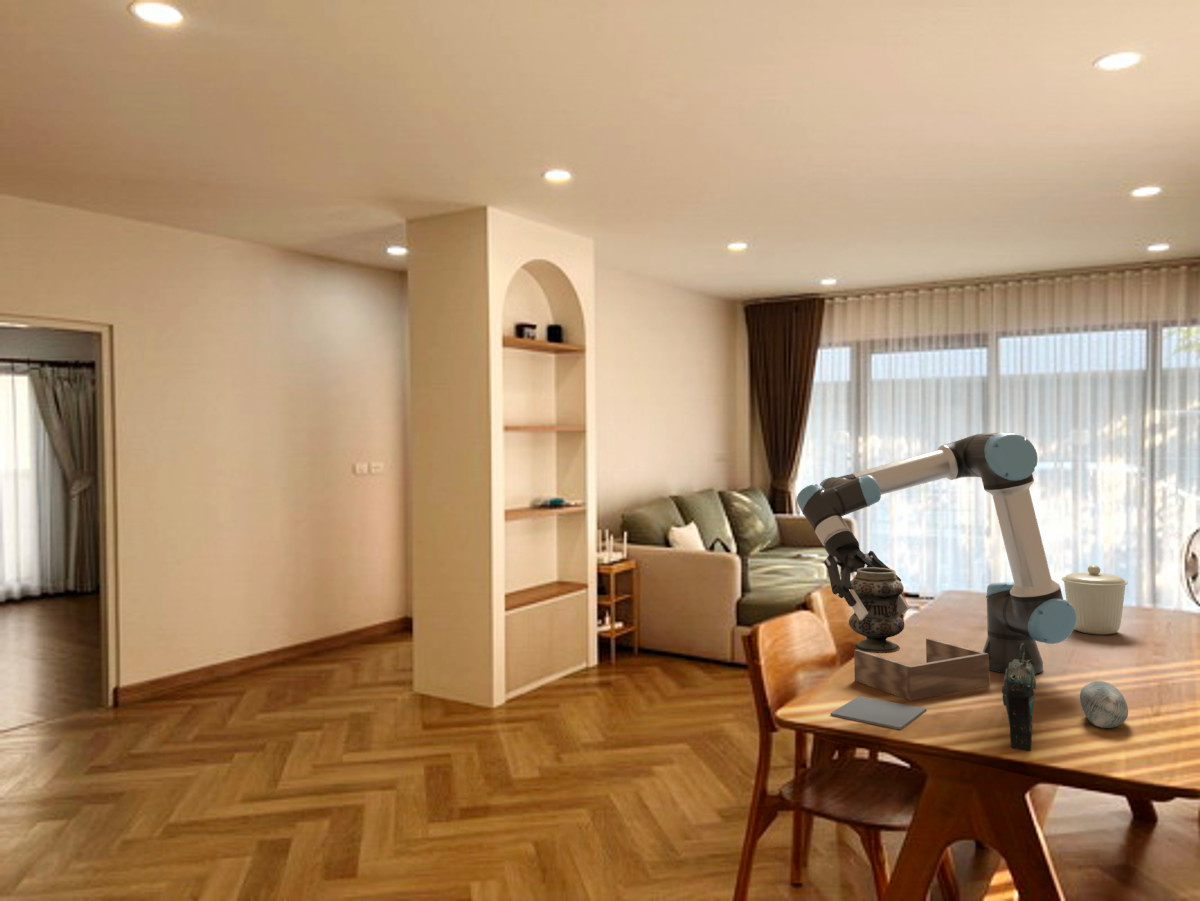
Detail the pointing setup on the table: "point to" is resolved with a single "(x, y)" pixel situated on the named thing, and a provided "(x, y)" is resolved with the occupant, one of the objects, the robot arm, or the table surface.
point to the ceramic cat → (1020, 700)
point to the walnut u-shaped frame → (925, 671)
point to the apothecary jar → (877, 609)
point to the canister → (1096, 600)
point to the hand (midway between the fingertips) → (885, 614)
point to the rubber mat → (879, 712)
